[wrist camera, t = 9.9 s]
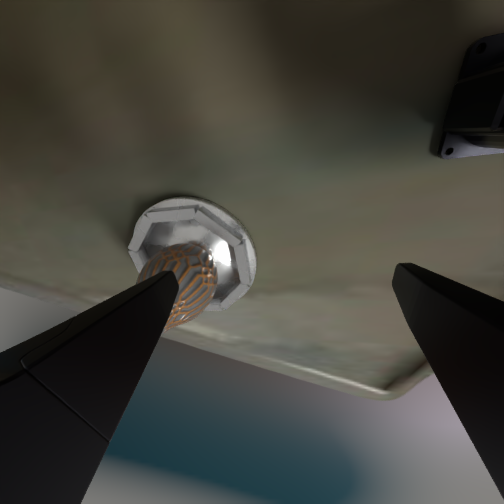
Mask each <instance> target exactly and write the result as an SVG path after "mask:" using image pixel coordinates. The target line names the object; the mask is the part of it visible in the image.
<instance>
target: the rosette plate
mask: <svg viewBox="0 0 504 504" xmlns="http://www.w3.org/2000/svg"><path fill="white" fill-rule="evenodd" d="M179 243H188V244H193V245H196V246H199V247H201V248H202V249H204V250H205V251H206V252H208V253H209V255H210V256H211V257H212V258H213V260H214V262H215V264H216V267H217V272H218V282H217V287H216V291H215V293H214V296H213V298H212V300H211V302H210V303H209V305H208V306H207V307H206V308H205V309H204V311H223V309H225V310H226V309H227V308H228V307H229V306H230V305H231V304H232V303H233V302H235V301H236V300H238V299H240V298H241V297H242V296H243V295H244V294H245V293H246V292H247V291H248V290H249V288H250V287H251V285H252V283H253V280H254V277H255V273H256V268H257V254H256V249H255V246H254V243H253V240H252V238H251V236H250V234H249V233H248V231H247V230H246V228H245V227H244V225H243V224H242V223H241V222H240V221H239V220H238V219H237V218H236V217H235V216H234V215H233V214H231V213H230V212H229V211H227V210H226V209H224V208H223V207H221V206H219V205H217V204H215V203H213V202H211V201H208V200H205V199H201V198H197V197H190V196H178V197H172V198H168V199H165V200H163V201H161V202H159V203H157V204H155V205H153V206H152V207H150V208H149V209H147V210H146V211H145V212H144V213H143V214H142V215H141V217H140V218H139V220H138V221H137V223H136V226H135V229H134V233H133V238H132V240H131V242H130V244H129V246H128V248H129V249H130V250H129V251H128V252H129V254H130V256H131V258H132V260H133V262H134V264H135V266H136V268H137V270H138V272H139V274H140V272H141V270H142V268H143V266H144V265H145V264H146V262H147V261H148V260H149V259H150V258H151V257H152V256H153V255H154V254H156V253H157V252H158V251H160V250H161V249H163V248H165V247H168V246H170V245H174V244H179Z"/></svg>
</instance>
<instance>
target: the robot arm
mask: <svg viewBox="0 0 504 504" xmlns="http://www.w3.org/2000/svg"><path fill="white" fill-rule="evenodd" d="M478 45H480V47H481V50H480V52H479V54H476V48H477V46H478ZM443 129H444V132H443V135H442V139H441V143H440V146H439V150H438V157H440V158H442V159H451V158H460V157H469V156H478V155H487V154H495V153H504V33H501V34H496V35H492V36H487V37H483V38H481V39H479V40H477V41H475V42H473V43H472V44H471V45H470V46H469V48H468V49H467V52H466V54H465V58H464V61H463V65H462V68H461V72H460V75H459V79H458V82H457V83H456V84H455V86H454V90H453V93H452V97H451V100H450V104H449V107H448V111H447V115H446V118H445V122H444V125H443ZM448 148H450V151H449V153H447V154H445V151H446V150H447V149H448ZM392 287H393V289H394V292H395V294H396V297H397V299H398V302H399V304H400V307H401V309H402V312H403V314H404V317H405V319H406V321H407V324H408V326H409V328H410V329H411V331H412V333H413V335H414V337H415V339H416V340H417V342H418V344H419V346H420V348H421V350H422V351H423V353H424V355H425V357H426V359H427V361H428V362H429V364H430V366H431V368H432V370H433V371H434V373H435V375H436V377H437V379H438V381H439V382H440V384H441V386H442V388H443V390H444V392H445V393H446V395H447V397H448V399H449V400H450V402H451V404H452V406H453V408H454V410H455V412H456V413H457V415H458V417H459V419H460V421H461V423H462V424H463V426H464V428H465V430H466V432H467V433H468V435H469V437H470V439H471V441H472V443H473V444H474V446H475V448H476V450H477V452H478V453H479V455H480V457H481V459H482V461H483V463H484V464H485V466H486V468H487V470H488V472H489V473H490V475H491V477H492V479H493V481H494V482H495V484H496V486H497V488H498V490H499V492H500V494H501V495H502V497H503V499H504V302H503V301H501V300H499V299H496V298H494V297H492V296H489V295H487V294H484V293H482V292H480V291H477V290H475V289H472V288H470V287H468V286H465V285H463V284H461V283H458V282H456V281H453V280H451V279H449V278H446V277H444V276H441V275H439V274H437V273H434V272H432V271H430V270H427V269H425V268H422V267H420V266H418V265H415V264H413V263H399V264H397V266H396V268H395V272H394V276H393V280H392ZM178 291H179V283H178V281H177V278H176V276H175V273H174V272H173V271H172V270H164V271H161V272H159V273H157V274H156V275H154V276H152V277H150V278H148V279H146V280H144V281H142V282H140V283H138V284H136V285H134V286H132V287H130V288H128V289H127V290H125V291H123V292H121V293H119V294H117V295H115V296H113V297H111V298H109V299H107V300H105V301H103V302H101V303H99V304H98V305H96V306H94V307H92V308H90V309H88V310H86V311H84V312H82V313H80V314H78V315H77V316H75V317H73V318H70V319H69V320H67V321H65V322H63V323H61V324H59V325H57V326H55V327H53V328H51V329H49V330H47V331H45V332H43V333H41V334H39V335H36V336H35V337H32V338H30V339H28V340H26V341H24V342H22V343H20V344H18V345H16V346H13V347H11V348H9V349H7V350H6V351H3V352H1V353H0V504H81V502H82V500H83V498H84V495H85V494H86V491H87V489H88V487H89V485H90V483H91V481H92V479H93V477H94V475H95V473H96V470H97V468H98V466H99V464H100V462H101V460H102V458H103V455H104V453H105V451H106V449H107V447H108V445H109V441H110V440H111V439H112V436H113V434H114V432H115V430H116V428H117V426H118V424H119V422H120V420H121V418H122V415H123V413H124V411H125V409H126V407H127V405H128V403H129V401H130V399H131V396H132V395H133V393H134V390H135V388H136V386H137V384H138V382H139V380H140V378H141V376H142V373H143V372H144V369H145V367H146V365H147V363H148V361H149V359H150V357H151V354H152V353H153V351H154V349H155V346H156V344H157V342H158V340H159V338H160V336H161V334H162V332H163V330H164V328H165V325H166V323H167V321H168V319H169V316H170V313H171V311H172V308H173V305H174V302H175V299H176V297H177V294H178Z"/></svg>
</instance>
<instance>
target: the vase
mask: <svg viewBox="0 0 504 504" xmlns="http://www.w3.org/2000/svg"><path fill="white" fill-rule="evenodd" d="M164 270H172V271H173V272H174V273H175V276H176V278H177V281H178V283H179V291H178V294H177V297H176V299H175V302H174V305H173V308H172V311H171V313H170V316H169V319H168V321H167V323H166V325H165V328H164V330H163V332H162V334H163V333H165V332H166V331H168V330H169V329H171V328H172V327H175V326H178V325H181V324H184V323H186V322H189V321H191V320H192V319H194V318H196V317H197V316H198V315H199V314H200V313H202V312H203V311H204V309H205V308H206V307H207V306H208V305H209V303H210V302H211V300H212V298H213V296H214V293H215V291H216V287H217V282H218V272H217V267H216V264H215V262H214V260H213V258H212V257H211V256H210V255H209V253H208V252H206V251H205V250H204V249H202V248H201V247H199V246H196V245H193V244H188V243H179V244H174V245H170V246H168V247H165V248H163V249H161V250H160V251H158V252H157V253H156V254H154V255H153V256H152V257H151V258H150V259H149V260H148V261H147V262H146V264H145V265H144V266H143V268H142V270H141V272H140V274H139V276H138V279H137V282H136V284H138V283H140V282H142V281H144V280H146V279H148V278H150V277H152V276H154V275H156V274H157V273H159V272H161V271H164ZM162 334H161V335H162Z"/></svg>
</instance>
